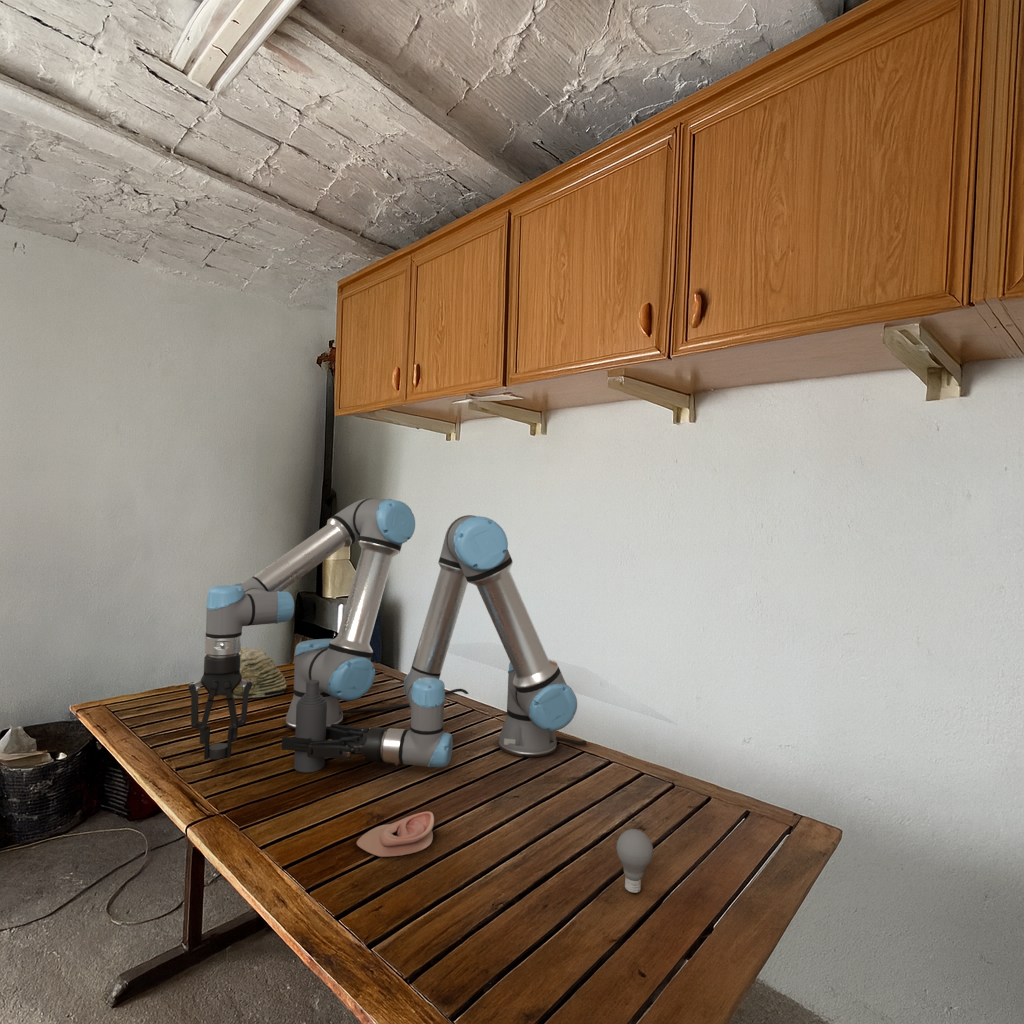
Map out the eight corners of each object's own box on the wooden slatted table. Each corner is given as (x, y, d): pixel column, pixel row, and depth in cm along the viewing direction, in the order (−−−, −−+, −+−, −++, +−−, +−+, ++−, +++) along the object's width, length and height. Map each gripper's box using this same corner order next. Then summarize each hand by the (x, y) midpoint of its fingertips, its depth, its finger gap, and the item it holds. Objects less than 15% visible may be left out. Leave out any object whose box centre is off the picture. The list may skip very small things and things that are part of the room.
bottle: (319, 773, 145) (322, 686, 145) (289, 771, 145) (292, 684, 145) (328, 760, 152) (331, 677, 151) (299, 759, 152) (303, 676, 151)
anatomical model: (349, 829, 113) (376, 800, 125) (348, 851, 113) (375, 820, 125) (420, 841, 111) (440, 810, 122) (419, 863, 111) (439, 830, 122)
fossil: (218, 695, 195) (220, 647, 195) (278, 685, 208) (279, 640, 207) (228, 703, 189) (230, 653, 188) (289, 692, 201) (290, 645, 201)
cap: (231, 754, 145) (232, 745, 145) (217, 760, 142) (218, 751, 142) (218, 751, 147) (218, 741, 147) (203, 757, 143) (204, 747, 143)
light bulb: (610, 879, 108) (613, 822, 108) (644, 879, 109) (647, 822, 109) (619, 902, 102) (622, 840, 102) (655, 901, 103) (658, 840, 103)
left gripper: (178, 659, 137) (173, 766, 138) (262, 656, 144) (257, 759, 144) (183, 651, 145) (178, 753, 145) (263, 649, 151) (258, 746, 151)
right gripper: (370, 779, 137) (268, 770, 139) (396, 745, 156) (307, 737, 159) (371, 745, 136) (270, 736, 139) (397, 714, 156) (308, 707, 159)
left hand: (217, 756), depth 144 cm, fingers closed on cap, 4 cm apart
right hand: (290, 737), depth 149 cm, fingers closed on bottle, 7 cm apart
